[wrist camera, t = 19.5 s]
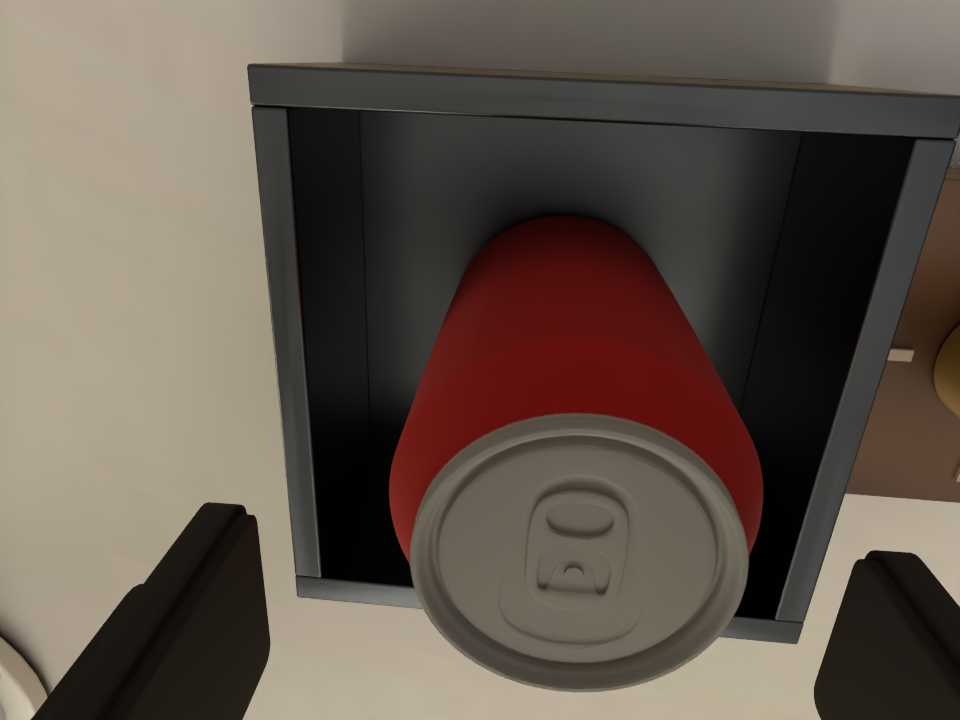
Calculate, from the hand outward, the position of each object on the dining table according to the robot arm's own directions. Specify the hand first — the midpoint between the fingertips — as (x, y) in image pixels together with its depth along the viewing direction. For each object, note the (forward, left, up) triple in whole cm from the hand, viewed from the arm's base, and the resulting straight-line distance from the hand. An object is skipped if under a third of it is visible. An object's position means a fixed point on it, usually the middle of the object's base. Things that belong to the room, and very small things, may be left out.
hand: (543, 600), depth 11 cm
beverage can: (0, 0, -12) cm, 12 cm away
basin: (0, 0, -13) cm, 13 cm away
